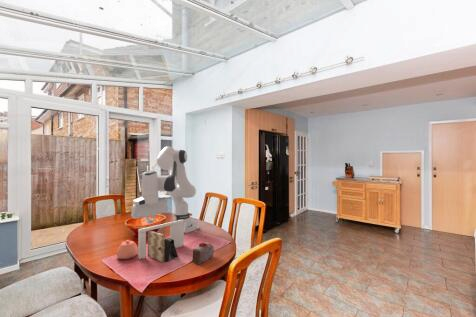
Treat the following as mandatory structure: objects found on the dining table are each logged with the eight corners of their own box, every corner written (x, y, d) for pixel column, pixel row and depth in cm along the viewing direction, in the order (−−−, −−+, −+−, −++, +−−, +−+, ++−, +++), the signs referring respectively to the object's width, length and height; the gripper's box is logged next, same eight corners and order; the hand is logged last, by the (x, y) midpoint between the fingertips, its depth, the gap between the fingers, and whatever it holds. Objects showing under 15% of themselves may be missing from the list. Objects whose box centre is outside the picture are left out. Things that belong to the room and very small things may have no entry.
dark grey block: (204, 253, 143) (204, 238, 143) (215, 256, 139) (215, 240, 139) (190, 262, 131) (190, 246, 131) (201, 265, 127) (201, 248, 127)
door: (146, 257, 137) (146, 231, 137) (152, 254, 140) (152, 230, 140) (160, 262, 129) (160, 236, 129) (166, 260, 133) (166, 234, 133)
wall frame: (182, 244, 157) (182, 219, 157) (183, 245, 156) (183, 219, 155) (138, 258, 135) (138, 229, 135) (139, 259, 134) (139, 229, 134)
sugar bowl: (123, 263, 130) (123, 245, 129) (110, 257, 137) (110, 241, 137) (142, 255, 140) (142, 239, 140) (129, 250, 147) (129, 235, 147)
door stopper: (165, 262, 131) (165, 242, 131) (159, 259, 134) (159, 239, 134) (178, 256, 138) (178, 237, 138) (172, 254, 141) (172, 235, 141)
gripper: (164, 196, 137) (164, 218, 137) (129, 201, 122) (130, 225, 123) (169, 197, 132) (169, 220, 133) (134, 202, 118) (134, 228, 118)
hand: (150, 223), depth 128 cm, fingers closed
